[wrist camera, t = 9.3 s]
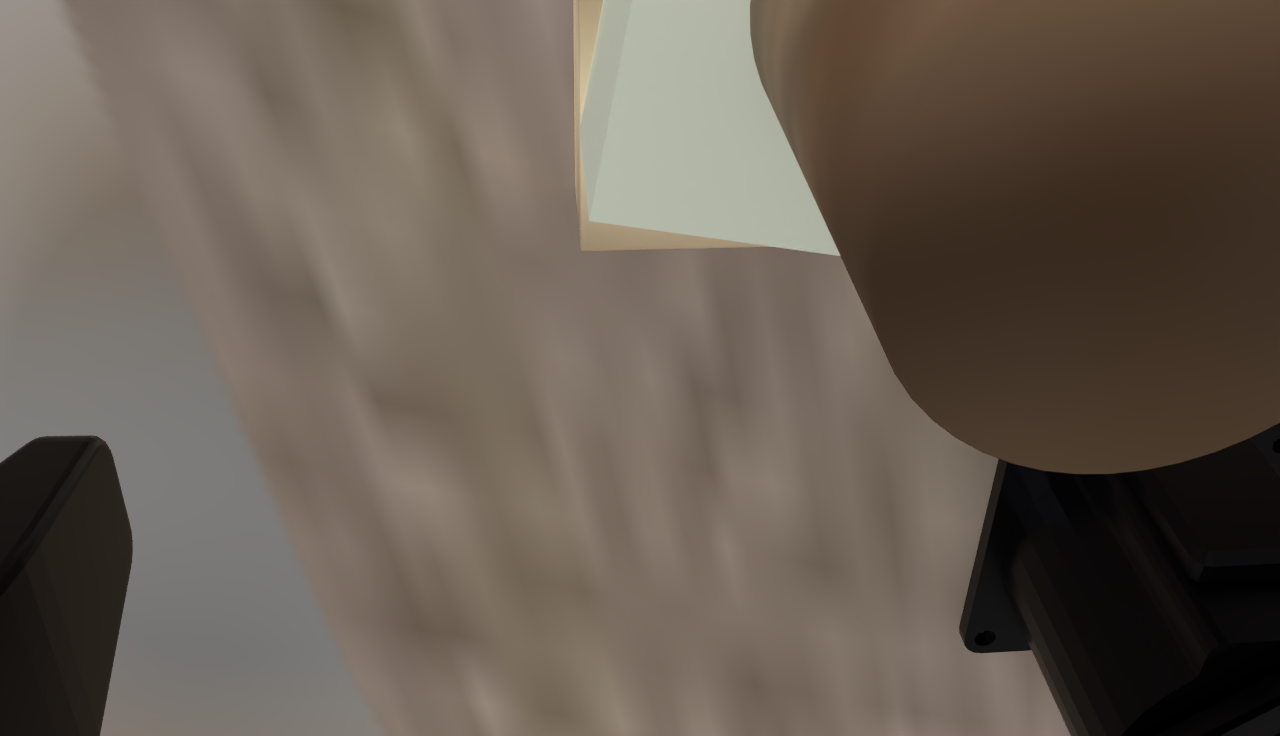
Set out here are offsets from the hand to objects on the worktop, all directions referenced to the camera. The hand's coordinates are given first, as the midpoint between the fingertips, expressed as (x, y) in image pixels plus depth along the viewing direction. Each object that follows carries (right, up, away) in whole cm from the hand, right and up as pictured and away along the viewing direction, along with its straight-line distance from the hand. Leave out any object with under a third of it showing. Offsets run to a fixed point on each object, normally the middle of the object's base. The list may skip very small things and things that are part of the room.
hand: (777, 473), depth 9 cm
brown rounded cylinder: (+3, +5, +6) cm, 9 cm away
